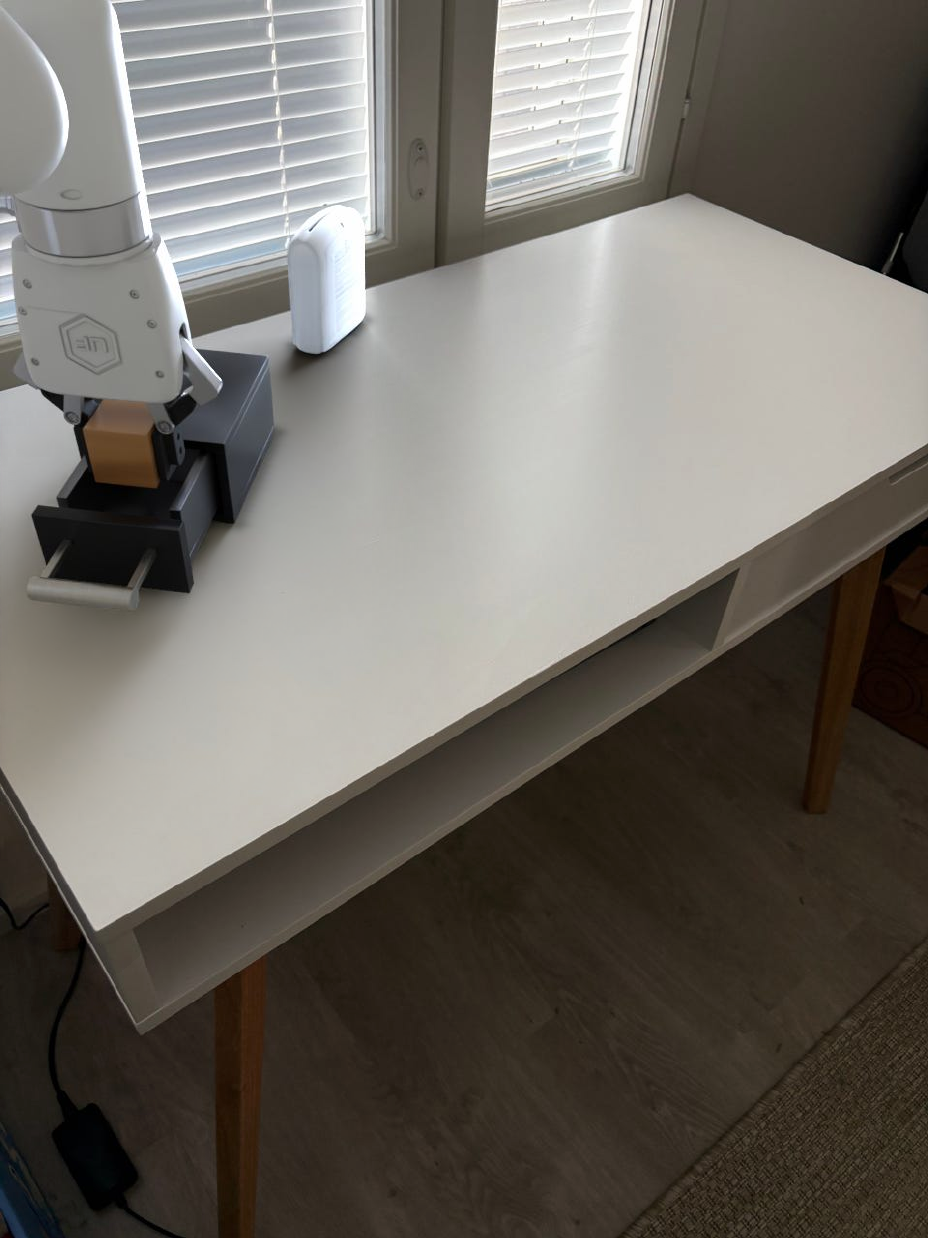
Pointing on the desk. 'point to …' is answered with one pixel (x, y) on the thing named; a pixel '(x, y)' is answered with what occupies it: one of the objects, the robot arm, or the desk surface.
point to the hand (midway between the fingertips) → (135, 463)
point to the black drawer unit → (232, 424)
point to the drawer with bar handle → (124, 535)
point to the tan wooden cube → (122, 444)
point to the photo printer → (326, 278)
